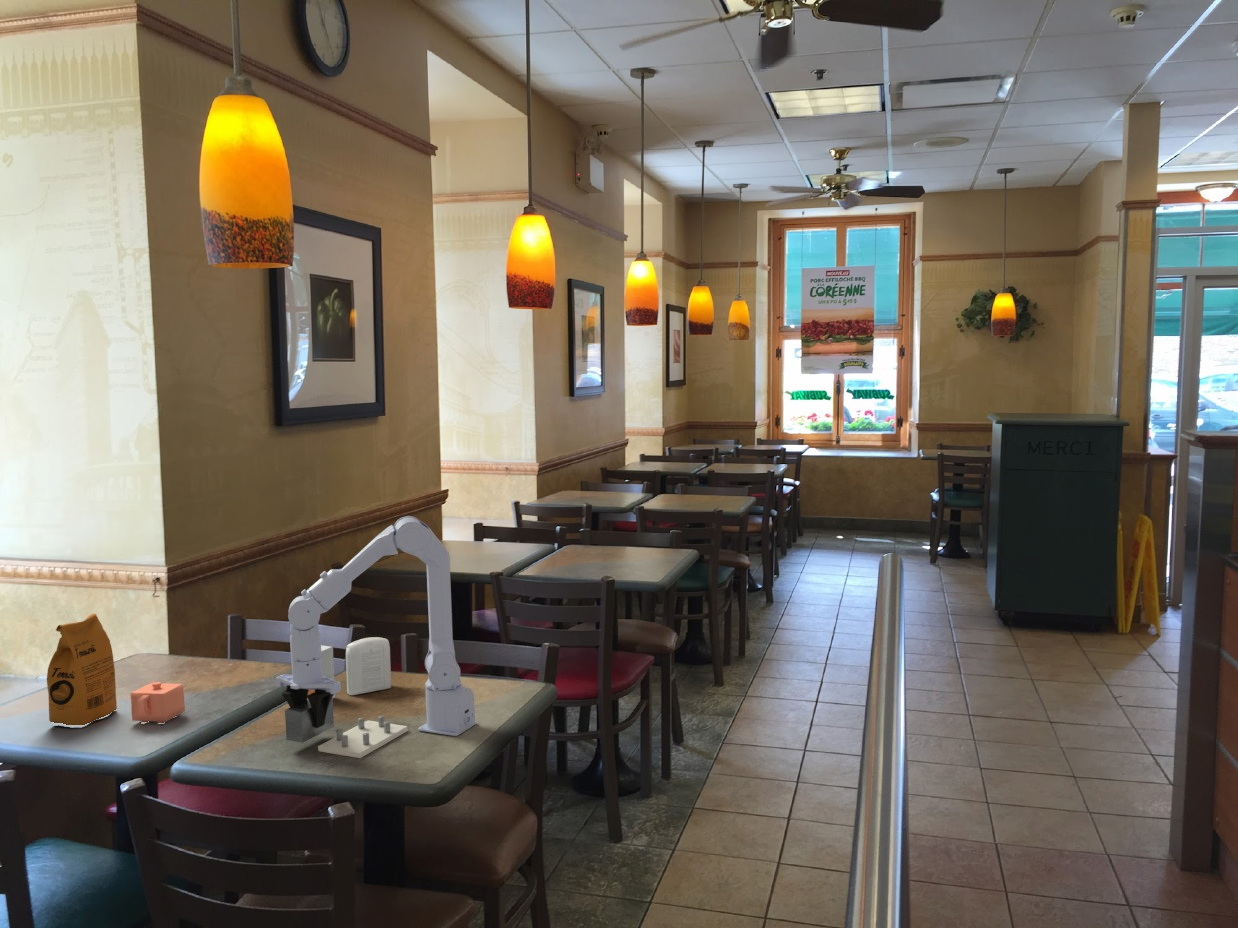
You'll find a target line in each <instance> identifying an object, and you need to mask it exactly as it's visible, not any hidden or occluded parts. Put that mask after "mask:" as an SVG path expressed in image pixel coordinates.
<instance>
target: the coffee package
mask: <svg viewBox="0 0 1238 928" xmlns="http://www.w3.org/2000/svg"><path fill="white" fill-rule="evenodd" d="M55 631H56V632H59V634H60V635H61V637H60V638H59V639H58V642H57V646H56V650H55V651H54V654H53V655H52V657H51V660H50V662H49V664H48V667H47V673H46V685H47V693H48V694H47V695H48V720H49V722H50V723H51V722H54V723H63V724H66V725H85V724H87V723H90V722H92V721H94V720H96V719H99V718H101V717H104V716H106V715H108V714H110V713H111V712H113V711H114V710H116V709H117V710H118V705H117V694H116V693H117V692H116V691H117V690H116V688H117V687H116V685H117V684H116V670H115V669H116V668H115V664H114V663H115V661H114V660H115V659H114V654H113V648H112V643H111V640H110V638H109V636H108V634H107V632H106V630H105V629H104V627H103V625H102V622H101V621H100V620H99V617H98V616H97V613H92V614H90V615H88V616H87V617H86V619H84V620H83V621H78V622H77V621H76V622H70V623H64V624H58V625H57V626H56V629H55ZM113 713H114V712H113ZM94 722H95V721H94ZM92 723H93V722H92Z"/></svg>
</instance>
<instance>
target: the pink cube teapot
mask: <svg viewBox="0 0 1238 928" xmlns="http://www.w3.org/2000/svg"><path fill="white" fill-rule="evenodd" d="M129 694H130V708H131V720H132V721H134V722H138V721H139V722H148V721H149V722H157V724H158V723H164V722H166V723H167V722H168V721H170V720H172V719H174V718H173V717H175V716H178V715H180V714H182V713H184V712H186V706H185V703H186V702H185V692H184V684H183V683H167V682H166V683H162V681H156V682H150V683H148V684H146V685H143V686H142V687H140V688H138V689H136V690H134V691H132V692H130V693H129Z"/></svg>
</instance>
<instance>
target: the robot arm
mask: <svg viewBox="0 0 1238 928" xmlns="http://www.w3.org/2000/svg"><path fill="white" fill-rule="evenodd" d="M398 549H399V550H400V551H402V552H404V553H406V554H409V555H411V556H414V557H417V558H418V559H419V560H420V561H421V562H423V563H424V564H425V565H426V588H427V608H428V610H427V611H428V631H429V632H428V635H429V637H428V652H427V654H426V656H425V660H424V667H425V670H426V671H427V674H428V679H427V680H426V681H425V683H424V687H425V690H424V691H425V710H426V711H425V713H426V716H425V717H426V723H424V724H422V725H420V726H419V727H418V728H417V731H419V732H420V731H421V732H426V733H433V734H439V735H446V736H452V737H458V736H459V735H461V734H462V733H464V732H466V731H467V730H468V729H470V728H472V727H474V726H475V725H477V723H478V721H477V720H476V714H475V713H476V711H475V695H474V692H473V690H472V689H471V687H466V686H465V685H463V683H462V680H461V667H460V666H459V664H458V662H457V660H456V651H455V645H454V639H453V636H454V635H453V613H452V612H453V610H452V591H451V590H452V589H451V588H452V587H451V561H450V553H449V552H448V549H447V548H446V547H445V546H444V544H443V543H442V542H441V540H440V539H439V538H438V537H437V536H436V535H435V533H434V532H433V531H432V529H431V528H430V526H429V525H427V523H425V522H423V521H421V520H420V519H419V518H417V517H415V516H411V515H407V516H403V517H400V518H399V519H397V520H396V522H395V523H394V525H393V524H391V525H389V526H388V527H386V528H385V529H383V530H382V531H381V532H380V533H378V534H377V535H376V536H375V537H374V538H373V539H372V540H371V541H370V542H369V543H367V545H365V546H364V547H363V548H362V549H361V550H360V551H359V552H358V553H356V555H354V557H352V559H350V560H349V561H348V562H347V563H346V564H345V565H344V566H343V567H342V568H338V569H336V568H335V569H334V568H333V569H332V568H331V569H330V570H329V571H326V570H324V571H323V572H321V573H320V575H319V577H320V578H319V579H318V580H317V581H315V582H314V583H313V584H312V585H311V586H310V587H309V588H307V589H306V588H304V589H303V590H302V591H301V592H300V594H301V595H299V596H296V597H295V598H294V599H293V600H292V601H291V602H290V604H289V607H288V609H287V611H288V614H287V618H288V621H289V624H290V627H289V631H290V636H289V644H290V645H289V646H290V659H291V660H290V661H291V662H290V663H291V674H281V675H278V676H276V677H275V683H276V685H275V686H276V687H277V688H282V687H286V690H284V691H282V692H281V693H282V697H283V698H284V700H285V702H286V703H287V704H288V706H289V708H290V707H293V706H295V705H297V704H299V703H301V702H304V701H306V700H307V698H308V700H309V702H310V705H311V708H312V713H313V722H314V726H315V728H319V727H321V726H323V725H324V723H325V718H326V713H327V709H328V706H329V703H330V701H331V699H332V697H333V695H334V694H335V695H336V694H338V693H341V691H342V689H341V688H342V686H341V681H336V680H335V679H334V680H331V679H329V678H326V677H324V676H323V670H322V653H321V645H322V638H321V637H322V636H321V632H320V629H319V622H320V617H321V614H323V613H327V612H328V611H330V610H331V608H333V607H335V605H336V604H337V603H338V602H340V601H341V599H343V598H344V597H346V595H348V594H349V593H350V592H351V591H352V582H353V581H354V580H356V578H358V577H360V575H361V574H363V573H364V572H365V571H366V570H368V569H369V568H370V567H371V566H373V565H375V563H376V562H377V561H379V560H380V559H381V558H382V557H384V556H393V555H394V556H395V555H398V554H399V552H398ZM309 690H315V692H314V693H311V694H309V695H308V691H309Z"/></svg>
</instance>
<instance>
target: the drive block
mask: <svg viewBox="0 0 1238 928" xmlns="http://www.w3.org/2000/svg"><path fill="white" fill-rule="evenodd" d="M284 719H285V720H284V721H285V732H286V733H285V735H286V741H289V742H295V743H301V744H302V743H305V742H307V741H308V740H311V739H313V738H315V737H317V736H319V735H320V734H323V733H324V732H326V731H328V730H330V729H333V728H334V727H335V722H334V721H335V719H334V701H333V698H332V699H331V701H330V703H329V706H328V709H327V713H326V718H325V723H324V725H323V726H321V727H319V728H315V726H314V722H313V713H312V708H311V705H310V702H309V700H306V701H304V702H301V703H299V704H297V705H295V706H293V707H290V706H289V707H288V708H285V710H284Z"/></svg>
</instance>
